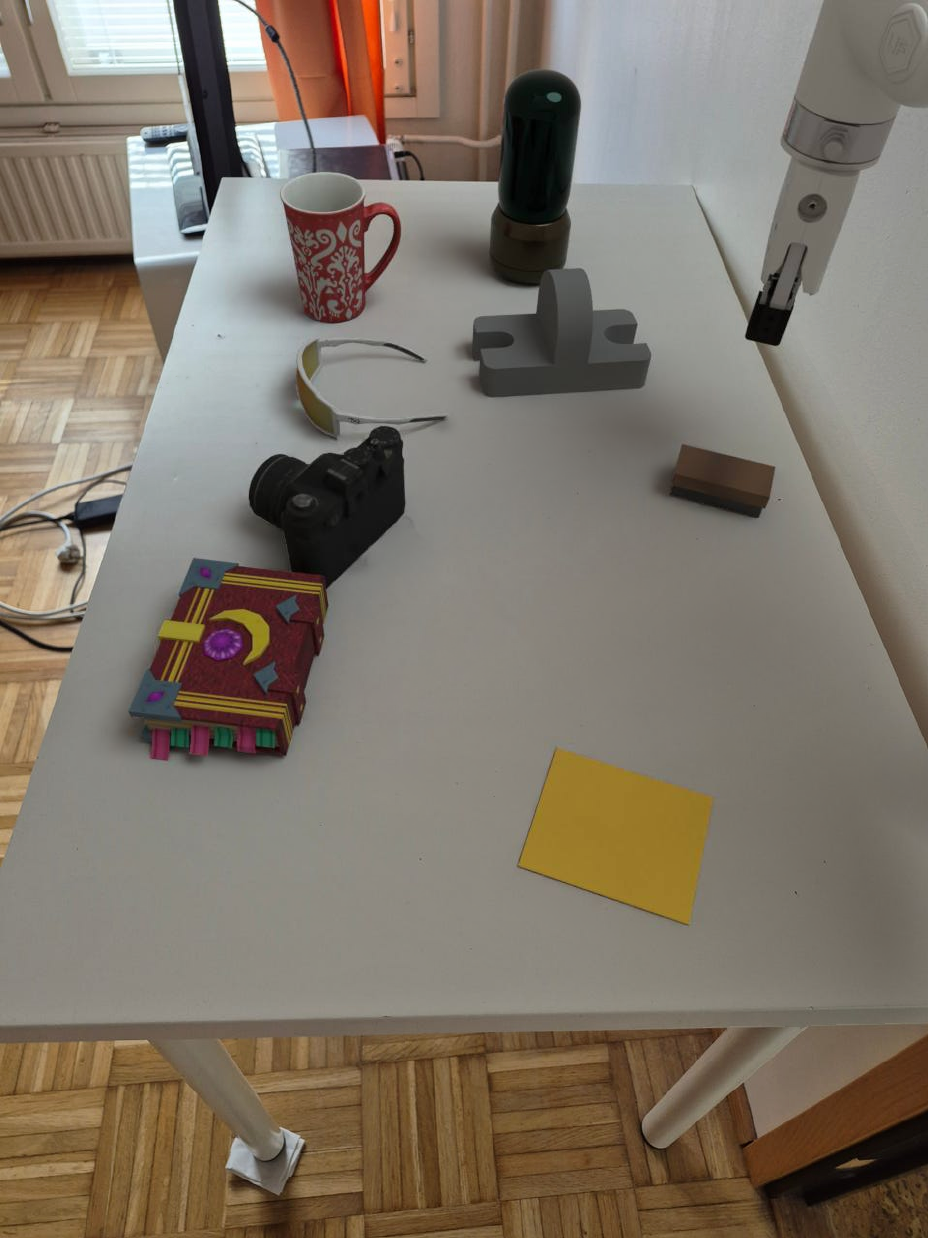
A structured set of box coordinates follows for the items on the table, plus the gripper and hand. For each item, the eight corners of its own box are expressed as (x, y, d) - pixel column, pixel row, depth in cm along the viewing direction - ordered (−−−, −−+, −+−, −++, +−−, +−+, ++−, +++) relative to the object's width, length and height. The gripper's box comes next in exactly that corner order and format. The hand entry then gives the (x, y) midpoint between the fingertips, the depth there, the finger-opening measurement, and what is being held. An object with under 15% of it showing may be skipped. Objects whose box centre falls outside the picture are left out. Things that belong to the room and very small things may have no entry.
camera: (333, 464, 87) (323, 378, 79) (419, 510, 83) (419, 426, 75) (231, 547, 79) (209, 462, 72) (321, 602, 76) (309, 519, 68)
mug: (293, 329, 101) (277, 212, 90) (295, 285, 106) (281, 171, 96) (404, 327, 102) (402, 211, 91) (400, 283, 107) (398, 170, 97)
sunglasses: (286, 365, 96) (287, 324, 92) (420, 365, 100) (426, 326, 97) (304, 450, 87) (306, 409, 84) (450, 446, 92) (458, 407, 88)
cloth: (712, 798, 65) (713, 797, 65) (688, 925, 59) (689, 924, 59) (556, 749, 68) (556, 747, 67) (517, 866, 62) (518, 865, 61)
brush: (766, 489, 86) (775, 466, 84) (760, 520, 84) (769, 497, 81) (675, 466, 88) (682, 443, 86) (666, 496, 85) (673, 472, 83)
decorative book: (332, 607, 75) (327, 568, 71) (286, 775, 65) (277, 740, 61) (202, 593, 76) (190, 553, 72) (136, 756, 66) (118, 720, 62)
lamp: (556, 247, 114) (579, 55, 97) (572, 287, 108) (599, 91, 91) (483, 249, 113) (493, 56, 96) (494, 290, 107) (507, 92, 90)
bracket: (647, 387, 96) (668, 297, 88) (483, 397, 94) (489, 306, 86) (625, 336, 102) (643, 247, 94) (470, 344, 100) (474, 254, 91)
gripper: (882, 182, 62) (794, 395, 76) (891, 99, 71) (811, 304, 85) (774, 161, 63) (708, 375, 78) (797, 82, 72) (734, 287, 87)
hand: (762, 337), depth 81 cm, fingers closed
